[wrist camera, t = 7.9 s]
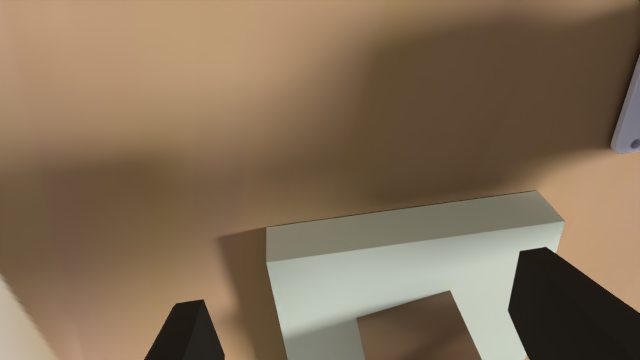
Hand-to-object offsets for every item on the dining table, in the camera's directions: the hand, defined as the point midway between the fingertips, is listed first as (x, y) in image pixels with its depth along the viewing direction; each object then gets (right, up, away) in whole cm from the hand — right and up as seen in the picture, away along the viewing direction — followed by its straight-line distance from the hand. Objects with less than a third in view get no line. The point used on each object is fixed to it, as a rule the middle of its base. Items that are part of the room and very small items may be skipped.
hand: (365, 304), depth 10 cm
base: (+4, -4, +16) cm, 17 cm away
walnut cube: (+4, -5, +14) cm, 15 cm away
